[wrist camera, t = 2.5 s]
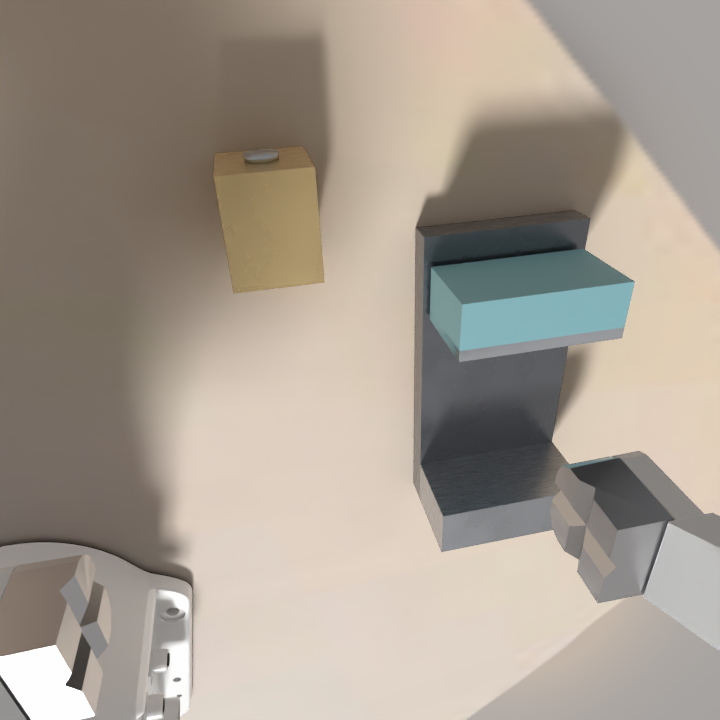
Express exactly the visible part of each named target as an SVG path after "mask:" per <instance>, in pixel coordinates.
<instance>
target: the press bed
mask: <svg viewBox="0 0 720 720" xmlns="http://www.w3.org/2000/svg"><path fill="white" fill-rule="evenodd" d="M589 222H590V218H588V217H586V216H585V215H583V214H581V213H579V212H577V211H575V210H574V211H565V212H556V213H547V214H538V215H529V216H520V217H511V218H501V219H492V220H483V221H474V222H465V223H456V224H447V225H438V226H429V227H420V228H416V250H415V366H414V482H413V483H414V485H415V488H416V490H417V493H418V495H419V498H420V500H421V503H422V505H423V508H424V510H425V513H426V515H427V517H428V520H429V522H430V525H431V527H432V530H433V532H434V535H435V537H436V540H437V542H438V545H439V547H440V550H441V552H444V551H449V550H454V549H459V548H464V547H469V546H474V545H479V544H484V543H489V542H494V541H499V540H504V539H509V538H514V537H519V536H524V535H529V534H534V533H539V532H544V531H549V530H553V527H552V521H551V516H550V511H551V503H552V499H553V498H554V497H555V496H556V495H557V494H558V493H559V492H560V488H559V487H558V486H557V484H556V483H555V480H556V475H557V471H558V470H559V469H560V467H561V466H564V465H569V463H568V462H567V461H566V460H565V458H564V457H563V456H562V454H561V453H560V452H559V450H558V449H557V448H556V447H555V445H554V444H553V443H552V436H553V431H554V425H555V419H556V413H557V407H558V402H559V396H560V390H561V384H562V379H563V373H564V367H565V361H566V355H567V350H568V346H565V347H558V348H551V349H545V350H538V351H531V352H524V353H518V354H511V355H504V356H497V357H491V358H484V359H477V360H470V361H464V362H458V360H457V359H456V357H455V356H454V354H453V353H452V351H451V350H450V348H449V347H448V345H447V344H446V342H445V341H444V340H443V338H442V337H441V335H440V334H439V332H438V331H437V329H436V328H435V326H434V325H433V323H432V322H431V320H430V293H431V267H435V266H444V265H452V264H460V263H468V262H477V261H485V260H493V259H501V258H510V257H518V256H526V255H534V254H543V253H551V252H559V251H567V250H576V249H585V245H586V240H587V234H588V228H589Z"/></svg>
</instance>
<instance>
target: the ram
mask: <svg viewBox="0 0 720 720" xmlns="http://www.w3.org/2000/svg"><path fill="white" fill-rule="evenodd" d="M633 287H634V281H633V280H631V279H630V278H628V277H627V276H625V275H623V274H622V273H620V272H619V271H617V270H616V269H614V268H613V267H611V266H610V265H608V264H606V263H605V262H603V261H602V260H600V259H599V258H597V257H596V256H594V255H592V254H591V253H589V252H588V251H586V250H585V249H576V250H567V251H559V252H551V253H543V254H534V255H526V256H518V257H510V258H501V259H493V260H485V261H477V262H468V263H460V264H452V265H444V266H435V267H431V293H430V320H431V322H432V323H433V325H434V326H435V328H436V329H437V331H438V332H439V334H440V335H441V337H442V338H443V340H444V341H445V342H446V344H447V345H448V347H449V348H450V350H451V351H452V353H453V354H454V356H455V357H456V359H457V360H458V362H464V361H470V360H477V359H484V358H491V357H497V356H504V355H511V354H518V353H524V352H531V351H538V350H545V349H551V348H558V347H565V346H571V345H578V344H585V343H592V342H598V341H605V340H612V339H619V338H622V335H623V331H624V326H625V322H626V317H627V313H628V309H629V304H630V300H631V296H632V291H633Z"/></svg>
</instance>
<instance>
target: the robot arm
mask: <svg viewBox="0 0 720 720" xmlns="http://www.w3.org/2000/svg"><path fill="white" fill-rule="evenodd" d="M555 483H556V484H557V486H558V487H559V488H560V492H559V493H558V494H557V495H556V496H555V497H554V498H553V499H552V503H551V511H550V516H551V521H552V527H553V530H554V532H555V535H556V537H557V540H558V541H559V543H560V545H561V546H562V548H563V550H564V551H565V552H567V553H569V554H570V555H572V556H574V557H576V558H577V559H579V562H578V570H577V572H578V573H579V575H580V576H581V578H582V579H583V581H584V583H585V584H586V586H587V587H588V589H589V590H590V592H591V593H592V595H593V597H594V598H595V600H596V601H597V603H601V602H607V601H612V600H617V599H622V598H627V597H632V596H638V595H643V594H644V596H643V597H644V598H645V599H647V600H648V601H649V602H651V603H652V604H654V605H655V606H657V607H658V608H659V609H661V610H663V611H664V612H665V613H667V614H668V615H669V616H671V617H672V618H674V619H675V620H676V621H678V622H679V623H681V624H682V625H684V626H685V627H686V628H688V629H689V630H691V631H692V632H693V633H695V634H696V635H698V636H699V637H701V638H702V639H703V640H705V641H706V642H708V643H709V644H710V645H712V646H713V647H715V648H716V649H718V650H719V651H720V516H718V515H716V514H714V513H709V514H704V513H703V512H702V511H701V510H700V509H699V508H698V507H697V506H696V505H695V504H694V503H693V502H692V501H691V500H690V499H689V498H688V497H687V496H686V495H685V494H684V493H683V492H682V491H681V490H680V489H679V488H678V486H677V485H676V484H675V483H674V482H673V481H672V480H671V479H670V478H669V477H668V476H667V475H666V474H665V473H664V472H663V471H662V470H661V469H660V468H659V467H658V466H657V465H656V464H655V463H654V462H653V461H652V460H651V459H650V458H649V457H648V456H647V455H646V454H644V453H642V452H640V451H636V452H631V453H626V454H621V455H615V456H612V457H604V458H599V459H594V460H589V461H584V462H579V463H574V464H569V465H564V466H561V467H560V469H559V470H558V471H557V475H556V480H555ZM191 697H192V588H191V586H190V584H188V583H187V582H185V581H183V580H180V579H177V578H173V577H168V576H163V575H158V574H152V573H148V572H146V571H143V570H141V569H139V568H137V567H136V566H134V565H132V564H130V563H128V562H127V561H125V560H123V559H121V558H119V557H117V556H114V555H112V554H109V553H106V552H103V551H100V550H97V549H94V548H89V547H85V546H80V545H74V544H66V543H51V542H36V543H22V544H14V545H8V546H3V547H0V720H180V716H182V715H183V714H185V713H186V712H188V710H189V708H190V704H191Z"/></svg>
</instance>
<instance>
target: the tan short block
mask: <svg viewBox="0 0 720 720" xmlns="http://www.w3.org/2000/svg"><path fill="white" fill-rule="evenodd" d="M213 177H214V183H215V189H216V194H217V200H218V206H219V212H220V217H221V223H222V229H223V235H224V241H225V246H226V252H227V258H228V264H229V269H230V275H231V281H232V287H233V292H234V293H241V292H249V291H258V290H266V289H274V288H282V287H291V286H299V285H307V284H315V283H324V271H323V259H322V246H321V234H320V221H319V209H318V197H317V184H316V172H315V166H314V164H313V163H312V161H311V160H310V158H309V156H308V155H307V153H306V151H305V150H304V148H303V147H302V146H298V147H286V148H274V149H255V150H249V151H238V152H226V153H215V158H214V174H213Z"/></svg>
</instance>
